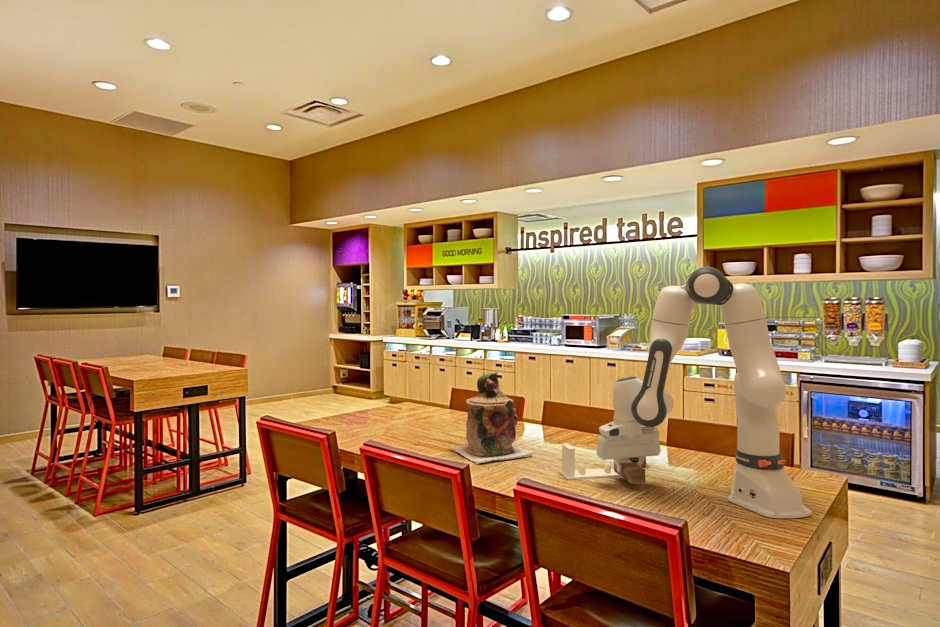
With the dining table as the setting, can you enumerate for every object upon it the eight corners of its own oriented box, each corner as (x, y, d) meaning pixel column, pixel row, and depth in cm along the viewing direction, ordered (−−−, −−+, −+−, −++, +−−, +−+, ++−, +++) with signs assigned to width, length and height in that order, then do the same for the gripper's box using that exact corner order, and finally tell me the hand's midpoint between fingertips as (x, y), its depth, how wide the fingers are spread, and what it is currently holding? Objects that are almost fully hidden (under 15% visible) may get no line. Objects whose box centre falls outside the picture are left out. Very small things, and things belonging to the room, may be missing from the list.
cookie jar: (448, 450, 231) (448, 369, 230) (502, 443, 242) (502, 365, 241) (478, 466, 209) (477, 376, 208) (535, 457, 220) (535, 372, 220)
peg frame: (620, 469, 204) (620, 440, 203) (630, 476, 196) (630, 446, 195) (559, 472, 200) (559, 443, 200) (567, 479, 192) (567, 449, 192)
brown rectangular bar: (645, 482, 180) (645, 469, 180) (631, 483, 180) (631, 470, 180) (627, 470, 194) (626, 458, 194) (614, 471, 194) (613, 459, 194)
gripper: (654, 423, 191) (655, 466, 191) (594, 427, 188) (595, 470, 189) (663, 427, 185) (664, 471, 185) (601, 431, 182) (602, 476, 182)
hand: (629, 471), depth 187 cm, fingers closed on brown rectangular bar, 4 cm apart
